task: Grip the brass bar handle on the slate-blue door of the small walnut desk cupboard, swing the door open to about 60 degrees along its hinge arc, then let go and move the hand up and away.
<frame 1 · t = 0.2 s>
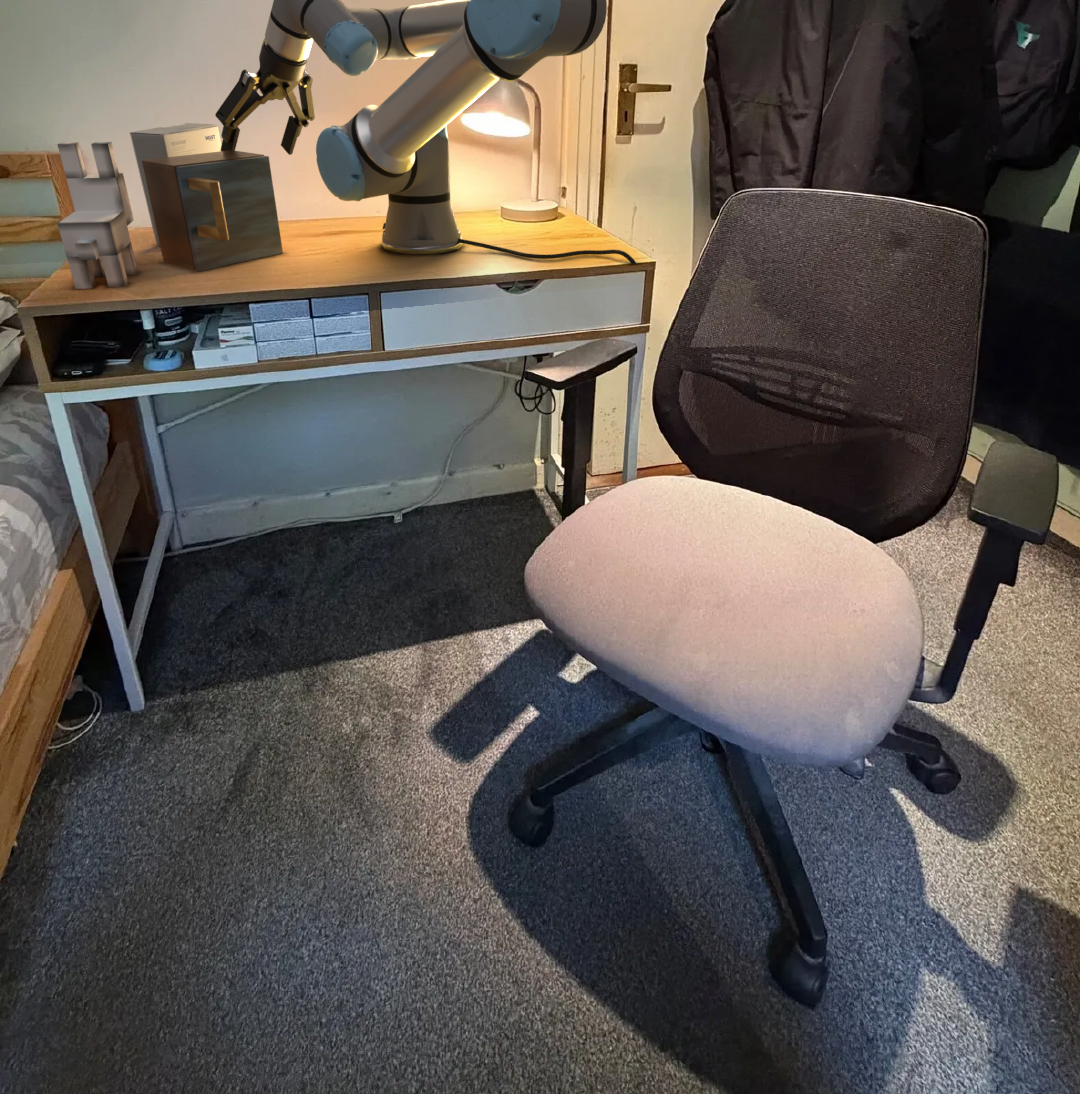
hand: (257, 152, 161), 16 cm above the table, tool tilted 35°, fingers open, 13 cm apart
cupboard door: (244, 215, 145), point 8 cm above the table, hinge at 0.0°
hard drive box: (198, 240, 167), on the table
cupboard: (222, 257, 154), on the table
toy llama: (109, 279, 141), on the table
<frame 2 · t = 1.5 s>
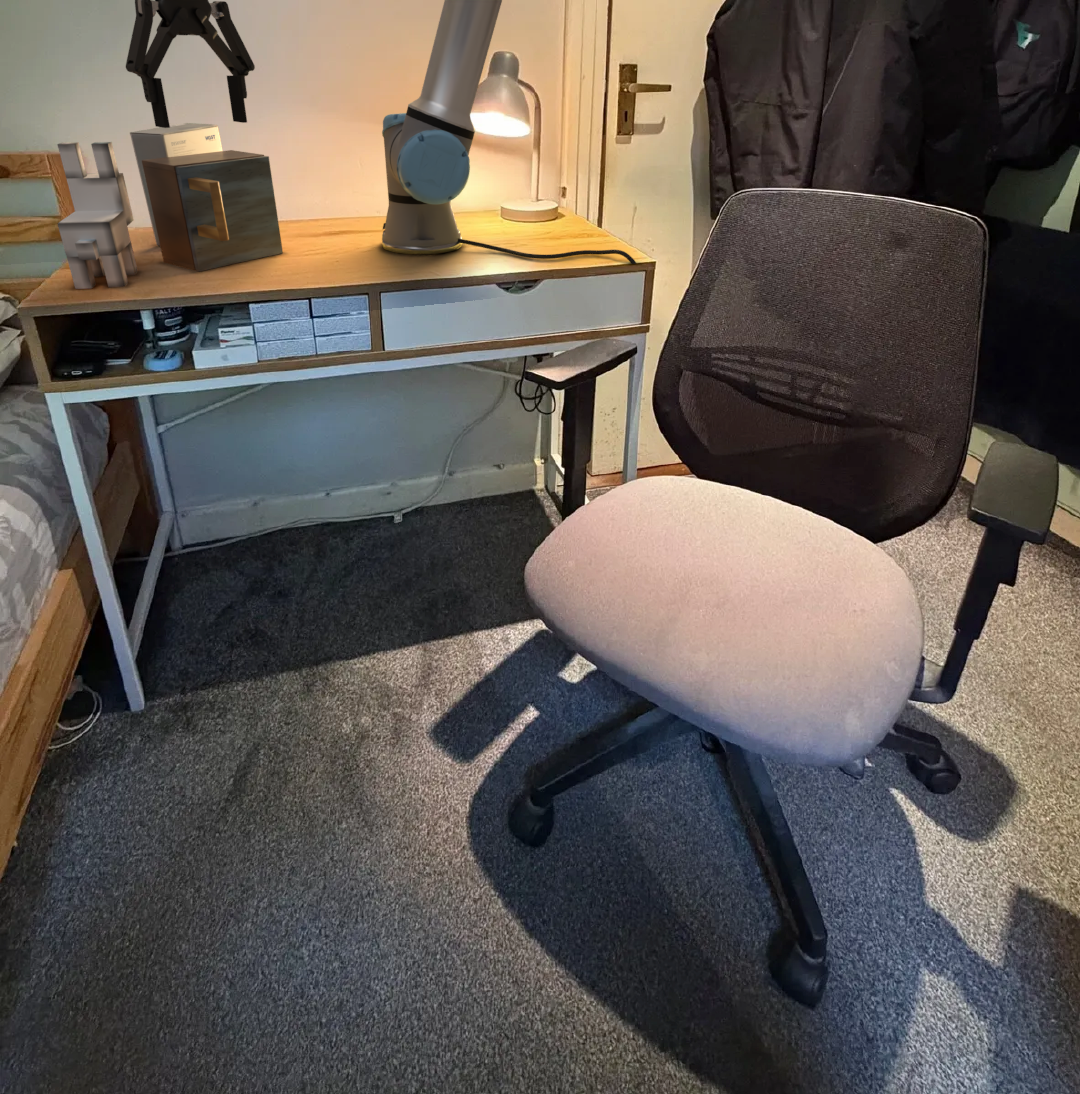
hand: (202, 124, 132), 23 cm above the table, tool pointing down, fingers open, 13 cm apart
nothing on the table moved.
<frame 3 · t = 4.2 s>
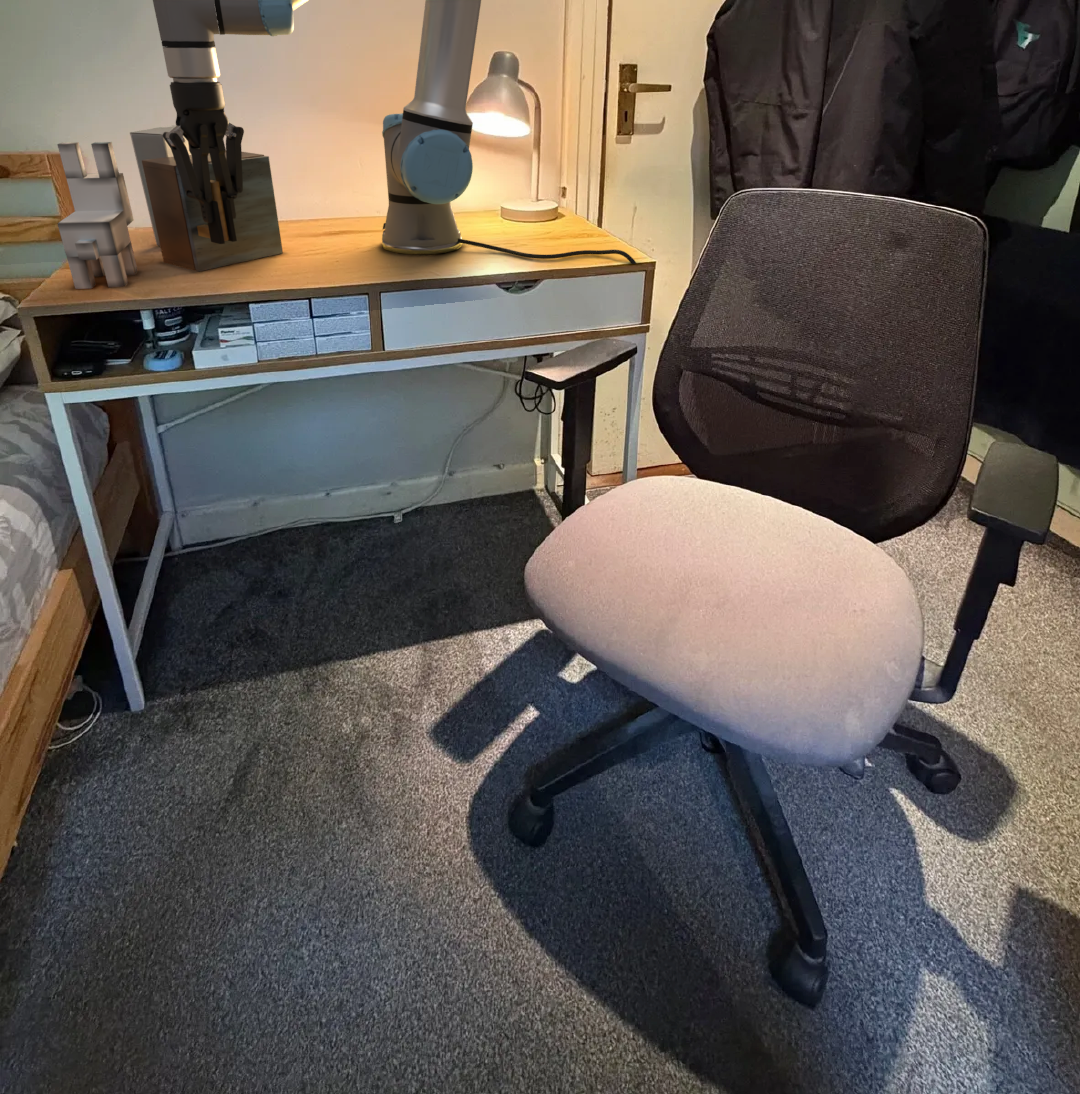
hand: (224, 241, 141), 6 cm above the table, tool pointing down, fingers closed on cupboard door, 2 cm apart
cupboard door: (244, 215, 145), point 8 cm above the table, hinge at 0.0°, touching gripper
everything else where it was.
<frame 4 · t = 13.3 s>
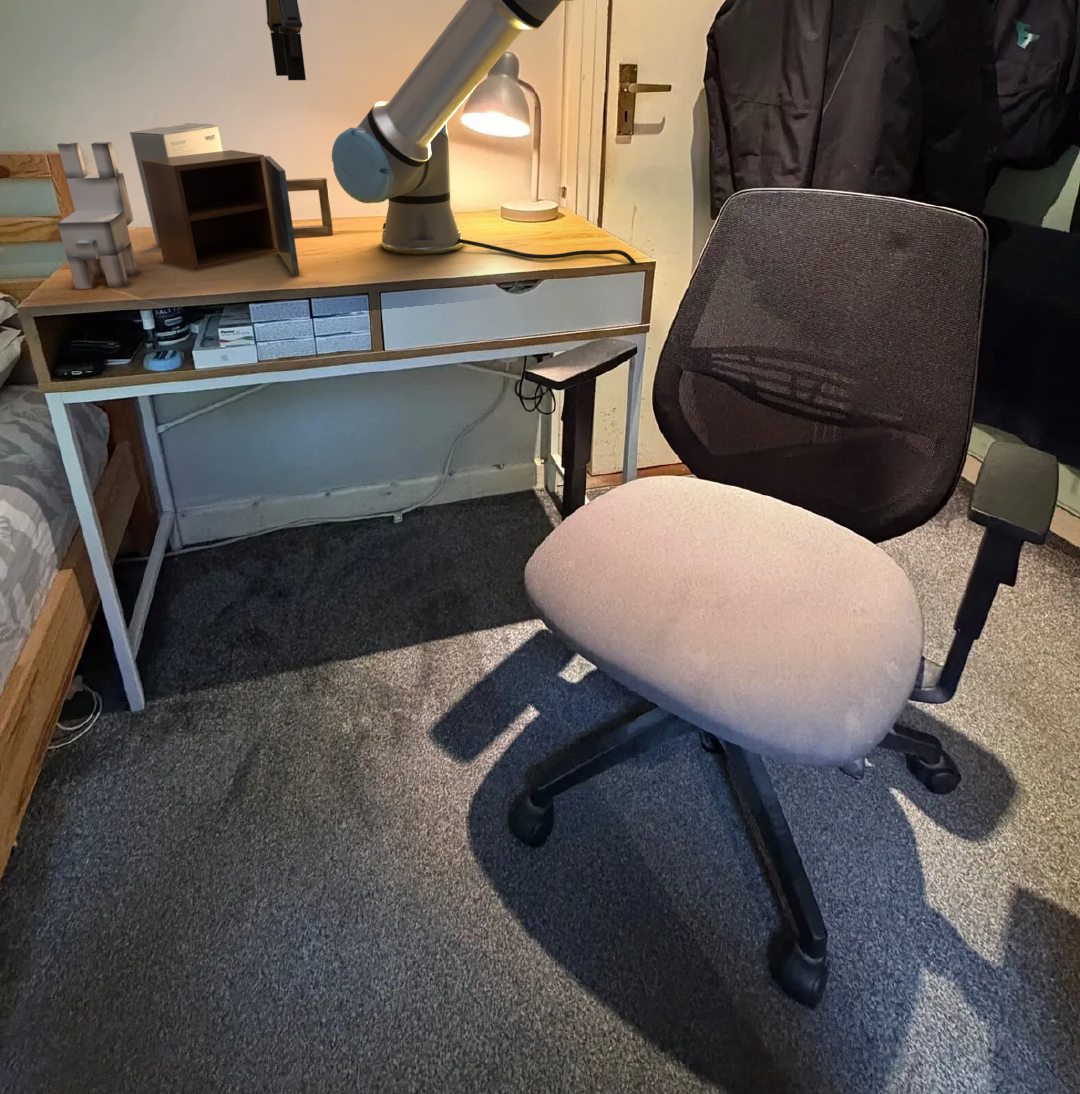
hand: (290, 78, 143), 29 cm above the table, tool pointing down, fingers open, 13 cm apart
cupboard door: (301, 213, 147), point 8 cm above the table, hinge at 59.7°
everything else where it was.
at the end: cupboard door at +60° (first picture: +0°); the gripper is holding nothing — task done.
